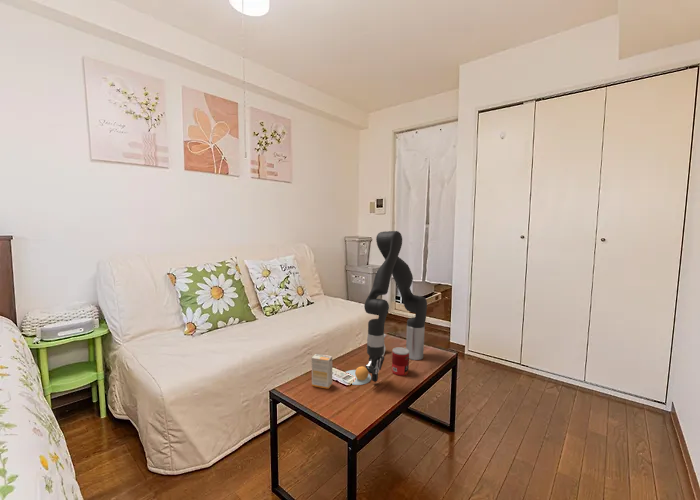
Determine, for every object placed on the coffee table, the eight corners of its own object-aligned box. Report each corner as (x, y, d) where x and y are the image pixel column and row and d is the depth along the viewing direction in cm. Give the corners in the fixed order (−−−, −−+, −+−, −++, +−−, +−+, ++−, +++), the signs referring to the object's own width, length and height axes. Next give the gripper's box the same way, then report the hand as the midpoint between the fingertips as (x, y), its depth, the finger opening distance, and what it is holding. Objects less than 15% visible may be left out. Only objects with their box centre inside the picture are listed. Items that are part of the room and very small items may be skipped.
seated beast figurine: (367, 352, 179) (367, 331, 178) (375, 347, 186) (376, 327, 185) (382, 357, 173) (382, 335, 172) (390, 352, 180) (390, 331, 179)
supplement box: (332, 384, 144) (333, 355, 143) (328, 389, 140) (328, 360, 138) (315, 381, 147) (316, 353, 146) (311, 386, 142) (311, 357, 141)
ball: (372, 371, 149) (366, 380, 151) (363, 362, 152) (357, 371, 153) (366, 375, 144) (359, 384, 146) (356, 365, 147) (350, 375, 148)
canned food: (408, 377, 152) (409, 354, 151) (391, 375, 154) (391, 352, 153) (408, 369, 160) (409, 348, 158) (392, 367, 161) (392, 346, 160)
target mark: (352, 367, 161) (352, 367, 161) (376, 375, 153) (376, 375, 153) (335, 378, 149) (335, 378, 149) (360, 388, 141) (360, 387, 141)
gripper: (376, 337, 151) (375, 372, 153) (360, 345, 140) (359, 384, 142) (390, 340, 147) (389, 377, 148) (375, 350, 136) (374, 389, 137)
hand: (374, 380), depth 145 cm, fingers closed
